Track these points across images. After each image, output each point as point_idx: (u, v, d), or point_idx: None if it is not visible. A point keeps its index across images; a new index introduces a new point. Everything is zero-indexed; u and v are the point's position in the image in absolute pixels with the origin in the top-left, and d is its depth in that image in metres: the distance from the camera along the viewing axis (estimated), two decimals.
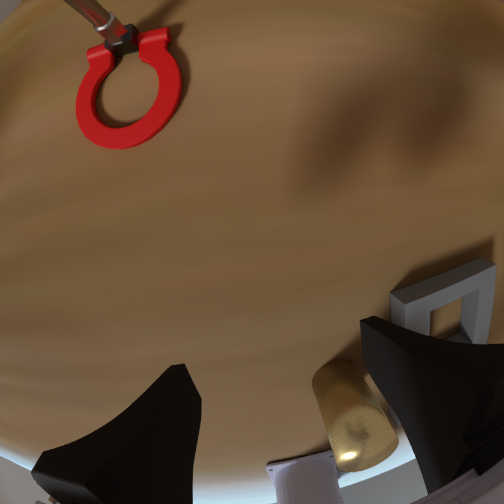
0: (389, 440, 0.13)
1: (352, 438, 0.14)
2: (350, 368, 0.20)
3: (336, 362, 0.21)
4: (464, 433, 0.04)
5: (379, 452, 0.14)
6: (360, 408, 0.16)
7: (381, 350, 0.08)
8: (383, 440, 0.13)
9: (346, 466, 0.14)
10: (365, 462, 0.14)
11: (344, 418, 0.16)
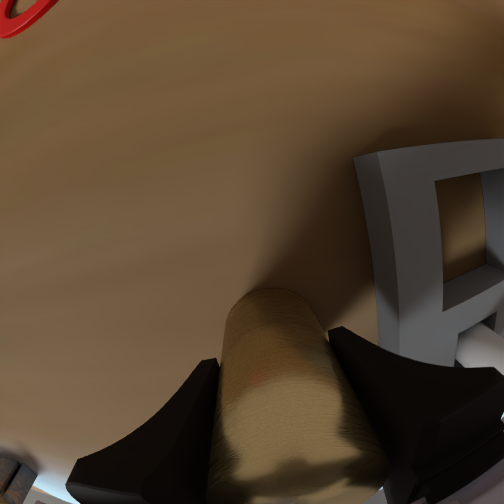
0: (360, 468, 0.04)
1: (237, 450, 0.05)
2: (287, 300, 0.11)
3: (263, 291, 0.12)
4: (413, 461, 0.04)
5: (333, 495, 0.05)
6: (282, 371, 0.07)
7: (345, 363, 0.08)
8: (341, 469, 0.04)
9: None
10: None
11: (237, 393, 0.07)
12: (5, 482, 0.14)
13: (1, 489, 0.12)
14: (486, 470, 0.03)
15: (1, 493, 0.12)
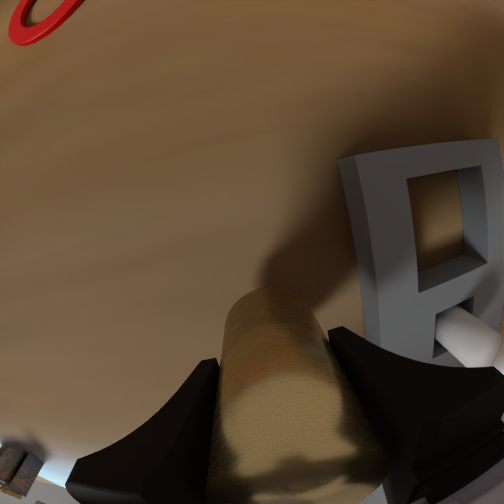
0: (359, 465, 0.04)
1: (236, 446, 0.05)
2: (287, 299, 0.12)
3: (263, 290, 0.13)
4: (413, 461, 0.04)
5: (332, 492, 0.05)
6: (281, 368, 0.07)
7: (345, 363, 0.08)
8: (339, 466, 0.04)
9: None
10: None
11: (237, 390, 0.07)
12: (11, 471, 0.16)
13: (7, 478, 0.14)
14: (486, 470, 0.03)
15: (7, 482, 0.14)
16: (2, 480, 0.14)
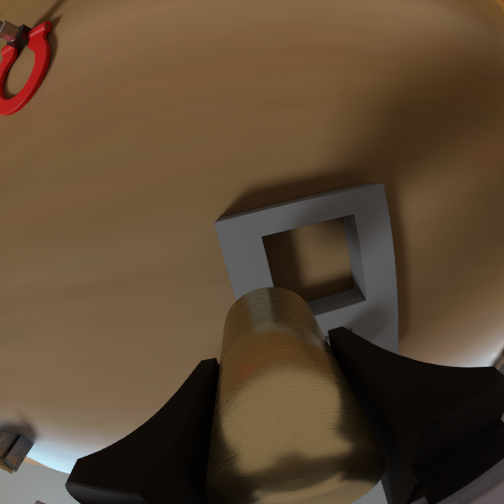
0: (358, 463, 0.04)
1: (238, 441, 0.05)
2: (288, 299, 0.12)
3: (264, 290, 0.13)
4: (413, 461, 0.04)
5: (329, 490, 0.05)
6: (283, 366, 0.07)
7: (345, 363, 0.08)
8: (339, 463, 0.04)
9: None
10: None
11: (239, 386, 0.07)
12: (6, 449, 0.21)
13: (2, 455, 0.19)
14: (486, 470, 0.03)
15: (2, 459, 0.19)
16: None
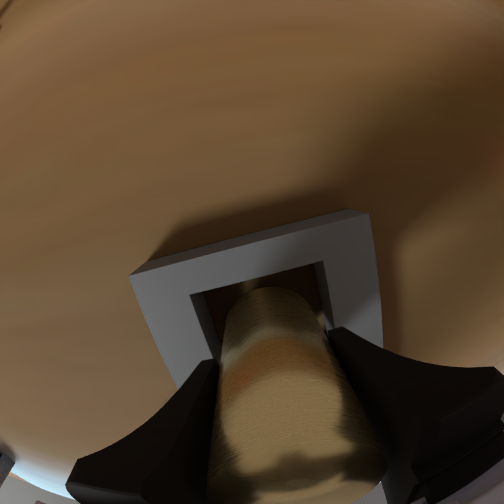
0: (359, 462, 0.04)
1: (240, 441, 0.05)
2: (289, 299, 0.12)
3: (265, 289, 0.13)
4: (413, 462, 0.04)
5: (331, 490, 0.05)
6: (285, 366, 0.07)
7: (345, 363, 0.08)
8: (341, 463, 0.04)
9: None
10: None
11: (240, 386, 0.07)
12: None
13: None
14: (486, 470, 0.03)
15: None
16: None
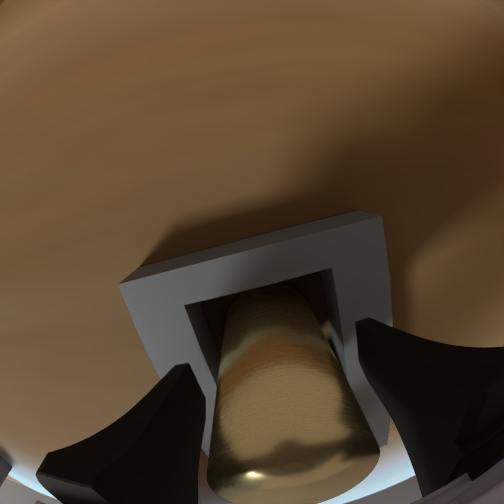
0: (352, 448, 0.05)
1: (239, 425, 0.05)
2: (287, 295, 0.12)
3: (264, 286, 0.13)
4: (457, 438, 0.04)
5: (325, 476, 0.05)
6: (281, 356, 0.07)
7: (376, 352, 0.08)
8: (334, 448, 0.05)
9: (240, 496, 0.05)
10: (293, 495, 0.05)
11: (240, 375, 0.07)
12: None
13: None
14: None
15: None
16: None
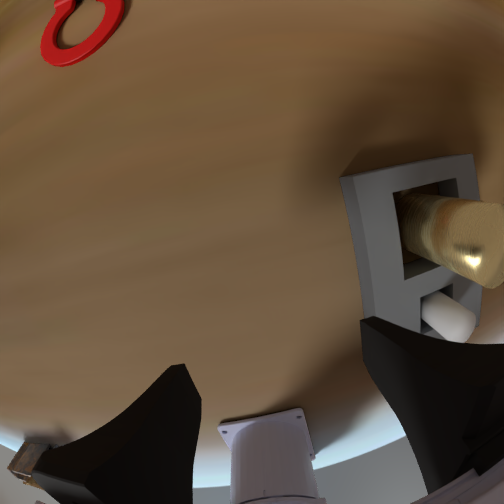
0: None
1: (480, 210, 0.10)
2: None
3: (414, 193, 0.18)
4: (464, 433, 0.04)
5: None
6: (467, 199, 0.12)
7: (381, 350, 0.08)
8: None
9: (481, 267, 0.10)
10: (496, 268, 0.10)
11: (457, 206, 0.12)
12: None
13: None
14: None
15: None
16: (27, 474, 0.18)
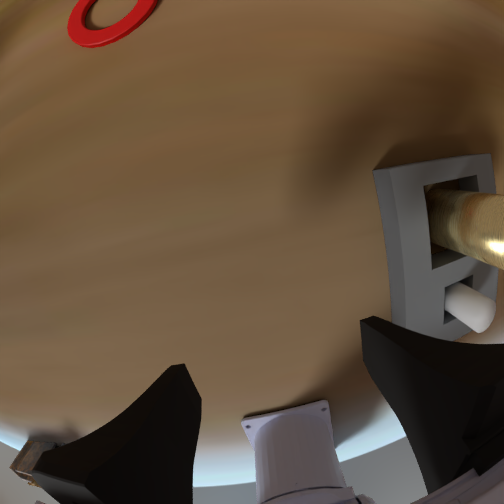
0: None
1: None
2: None
3: (439, 189, 0.18)
4: (464, 433, 0.04)
5: None
6: (491, 193, 0.12)
7: (381, 350, 0.08)
8: None
9: None
10: None
11: (483, 199, 0.12)
12: None
13: None
14: None
15: None
16: None
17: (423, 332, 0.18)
